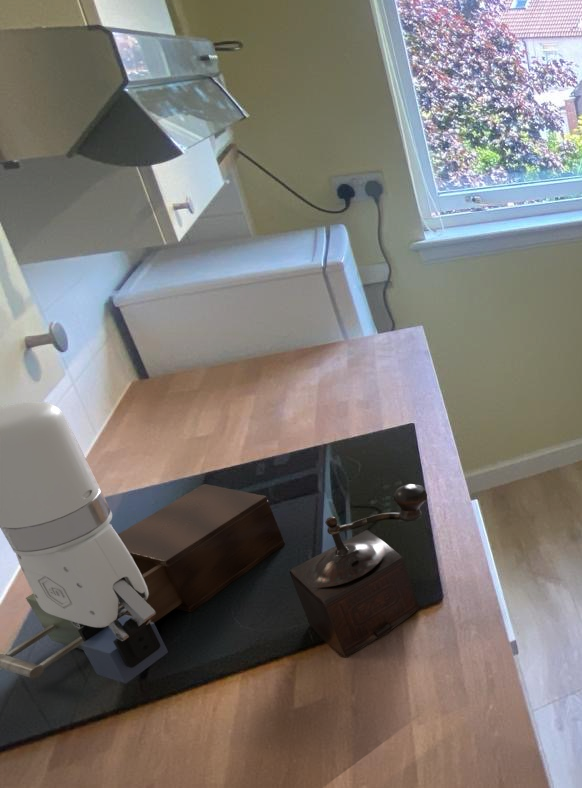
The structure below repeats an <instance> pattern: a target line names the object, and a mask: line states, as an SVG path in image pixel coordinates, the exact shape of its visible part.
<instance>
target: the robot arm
mask: <svg viewBox="0 0 582 788" xmlns="http://www.w3.org/2000/svg"><path fill="white" fill-rule="evenodd" d="M96 479H97V478H95V475H94V473H93V471H92V469H91V467H90V465H89V463H88V460H87V459H86V457H85V455H84V453H83V450H82V448H81V447H80V444H79V443H78V440H77V438H76V436H75V433H74V431H73V430H72V428H71V426H70V423H69V422H68V419H67V418H66V416H65V414H64V412H63V411H62V410H61V409H60V407H58V406H56V405H55V404H52V403H50V402H48V401H47V402H45V401H40V400H39V401H38V400H31V401H29V400H28V401H21V402H15V403H10V404H5V405H1V406H0V530H1V532H2V534H3V535H4V537H5V539H6V540H7V543H8V544H9V546H10V547H11V550H12V551H13V553H15V555H16V559H17V561H18V565H19V566H20V568H21V570H22V574H23V575H24V577H25V579H26V581H27V584H28V586H29V588H30V590H31V592H32V594H34V596H35V598H36V600H37V602H38V604H39V606H40V607H41V609H42V610H44V611H45V612H47V613H49V614H51V615H54V616H57V617H60V618H63V619H66V620H70V621H71V622H72V624H73V625H74V626H75V627H77V628H80V627H82V626H83V628H81V629H79V630H78V632H79V633H80V635H81V637H82V639H83V641H84V642H85V641H86V640H88V639H90V638H91V637H93V636H94V635H96V634H97V633H99V632H100V631H102V630H103V629H105V628H106V627H108V626H109V628H110V629H111V630H112V632H113V633H114V635H115V636H116V637H117V639H116V640H114V641H113V642H114V644H115V646H116V648H117V650H118V652H119V653H120V655H121V657H122V659H123V661H124V663H125V665H126V666H127V667H130V668H133V667H135V666H136V665H138V664H139V663H140V662H142V661H143V660H144V659H146V658H147V657H149V656H150V655H151V654H153V653H154V652H155V651H157V650H158V649H159V648H160V643H159V641H158V639H157V637H156V635H155V633H154V631H153V629H152V627H151V625H150V622H151V620H150V618H152V617H153V616H154V615H156V612H155V610H154V609H153V608H152V607H151V606H150V605H149V604H148V603H147V602H146V601H145V600H147V598H148V594H149V593H148V589H147V586H146V583H145V581H144V579H143V577H142V575H141V573H140V571H139V569H138V567H137V565H136V563H135V562H134V560H133V558H132V556H131V555H130V553H129V551H128V550H127V548H126V547H125V545H124V543H123V542H122V540H121V539H120V537H119V536H118V534H119V533H117V531H116V530H115V529H114V527H113V525H112V524H111V521H112V519H113V513H112V510H111V509H110V506H109V504H108V502H107V500H106V498H105V496H104V494H103V492H102V490H101V487H100V485H99V483H98V482H97V480H96ZM118 604H121V605H122V606H120V607H119V608H118ZM127 612H129V613H130V614H131V616H132V617H131V618H130V619H129V620H127V621H126V622H125V623H124V625H123V626H122V624H121V623H120V622H119V620H118V618H120V617H121V616H123V615H124V614H126V613H127Z"/></svg>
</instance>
